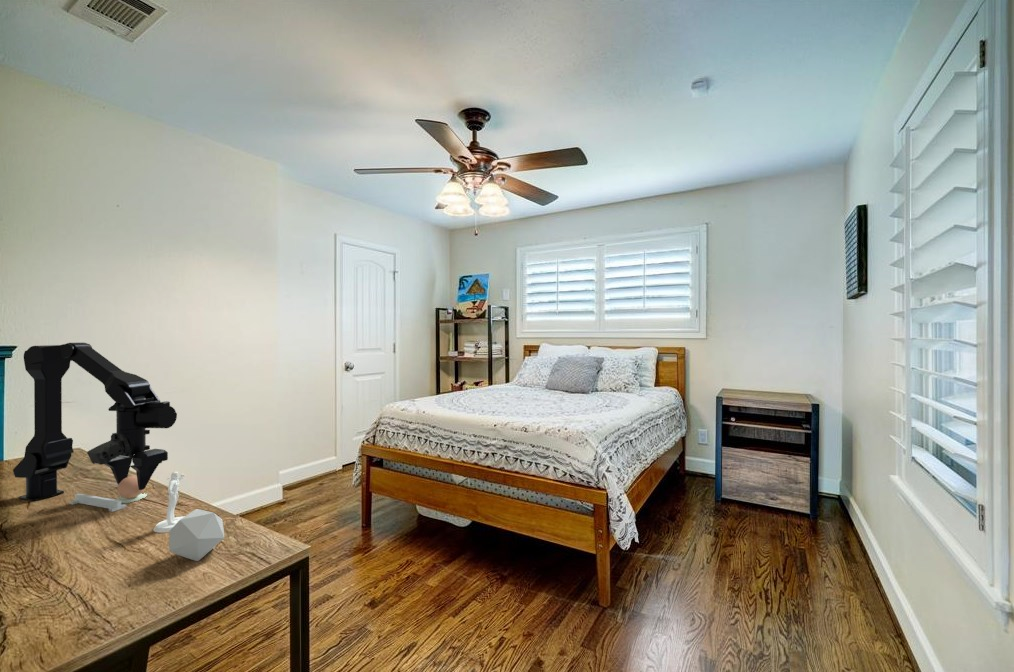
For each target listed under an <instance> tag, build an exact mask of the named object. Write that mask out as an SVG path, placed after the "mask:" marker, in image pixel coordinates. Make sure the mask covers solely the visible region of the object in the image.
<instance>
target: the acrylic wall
mask: <svg viewBox="0 0 1014 672" xmlns="http://www.w3.org/2000/svg"><path fill="white" fill-rule="evenodd" d="M74 497H75V498H74V500H71V501H69V504H70V505H73V506H74V505H76V504H81V505H89V506H92V507H93V506H94V507H98V508H105V509H108V512H111V513H113V512H116V511H119V510H122V509H125V508H127V504H126V503H122V504H121V501H120V500H116V498H115V499H114V498H109V497H108V498H107V497H103V496H96V495H91V494H83V493H76V494H75V495H74Z"/></svg>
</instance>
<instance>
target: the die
mask: <svg viewBox="0 0 1014 672" xmlns="http://www.w3.org/2000/svg"><path fill="white" fill-rule="evenodd" d="M224 530H225V529H224V522H223V519H222V518H221V517H220V516H218V514H216V513H215V512H212V511H209V510H203V509H200V508H196V509H194V510H192V511H190V512H189V513H188V514H186V515H185V517H183V518H182V519H180V520H179V521H178V522H177V523H176V525H175V526H174V527H173V528H172V529H171V530H170V531H169V532H168V533H169V535H168V552H170V553H173V554H175V555H177V556H179V557H183V558H185V559H188V560H191V561H195V562H199V561H200V560H201V559H203V558H204V557H205V556H206V555H207V554H208V553H209V552H211V551H212V550H213V549H214V548H216V546H217V545H218V544H219V543H220V542H221V541H223V540H224V539H225V531H224Z"/></svg>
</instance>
